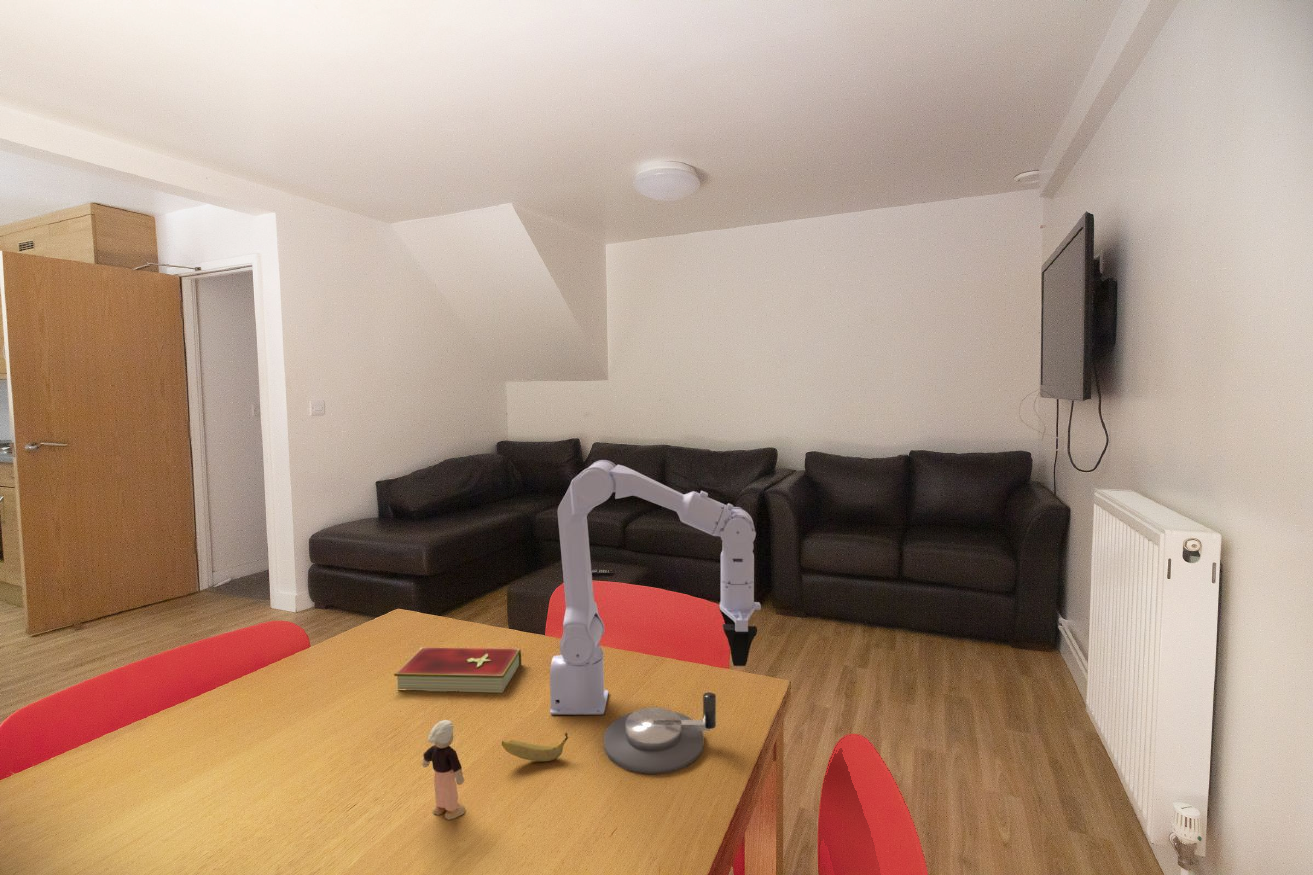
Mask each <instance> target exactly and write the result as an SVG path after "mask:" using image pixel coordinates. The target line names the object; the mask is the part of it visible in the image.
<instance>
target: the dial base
mask: <svg viewBox="0 0 1313 875" xmlns="http://www.w3.org/2000/svg"><path fill="white" fill-rule="evenodd" d="M674 712H675V713H676V714H677V715H678V716H679V717H680V718H681V720H693V719H692V718H691V717H689V716H688V715H685V714H682V713H680V712H677V711H674ZM632 713H633V712H630V713H627V714H625V715H622V716H620V717H619V718H617V719H616V720H614V721H613V722H611V723H610V724H609V725H608V726H607V728H606V730H605V732H604V735H603V748H604V749H603V750H604V752H605V755H606V756H607V758H608V759H609V760H610V761H611V762H612V763H613V764H615V765H616V766H618V767H620V768H622V769H624V770H626V771H629V772H634V773H637V774H645V775H659V774H661V775H662V774H668V773H673V772H676V771H680V770H682V769H685V768H686V767H688V766H690V765H691V764H693V763H694V762H695V761H696V760H697V759H698V758H699V757H700V755H701V754H702V752H703V749H704V734H703V733H704V731H682V735H681V739H680V740H679V741H678V742H677V743H676V744H675V745H673V746H672V747H669V748H666V749H663V750H653V751H652V750H643V749H639V748H637V747H635V746H633V745H631V744H630V743H629V742H628V741H627V739H626V725H625V723H626V719H627V718H628V716H629V715H630V714H632Z"/></svg>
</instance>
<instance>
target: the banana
mask: <svg viewBox="0 0 1313 875" xmlns="http://www.w3.org/2000/svg"><path fill="white" fill-rule="evenodd" d="M568 735H569V734H568V732H565V733H564V736H565V738H564V739H563V740H562V741H561V743H558V744H554V745H544V744H534V743H528V742H524V741H520V740H517V739H509V740H508V739H507V740H502V742H501V746H502V748H503V749H504V751H506V752H507V753H508V754H509V755H512V756H513V757H514V756H515V757H516V758H520V759H523V760H527V761H532V762H540V763H541V762H544V763H545V762H551V761H554V760H557V759H558V758H560V756H561V755H562V754H563V751H564V750H563V748H564V745H565V744H566V742H567V741H568V739H569V736H568Z"/></svg>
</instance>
